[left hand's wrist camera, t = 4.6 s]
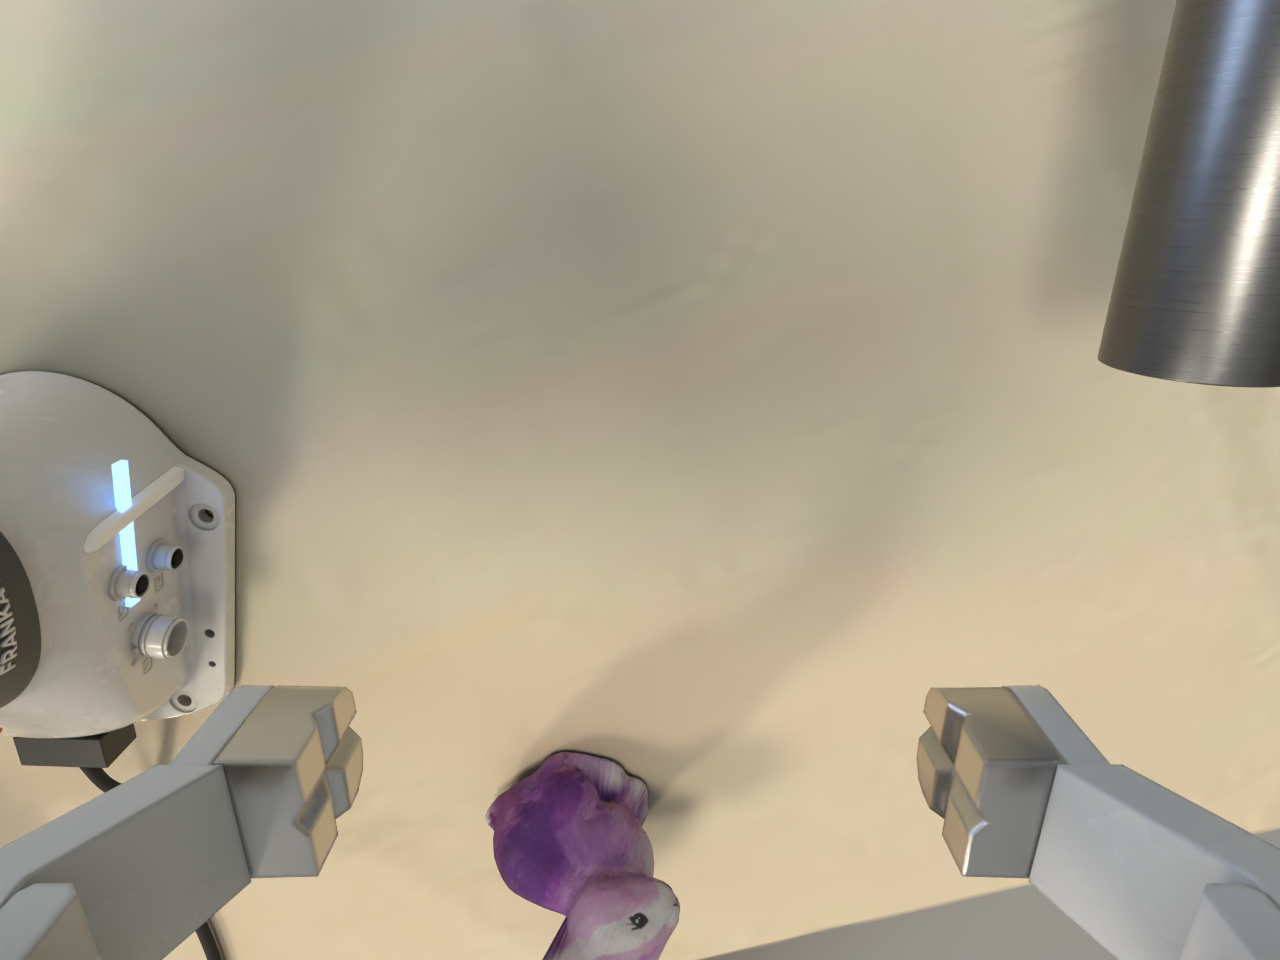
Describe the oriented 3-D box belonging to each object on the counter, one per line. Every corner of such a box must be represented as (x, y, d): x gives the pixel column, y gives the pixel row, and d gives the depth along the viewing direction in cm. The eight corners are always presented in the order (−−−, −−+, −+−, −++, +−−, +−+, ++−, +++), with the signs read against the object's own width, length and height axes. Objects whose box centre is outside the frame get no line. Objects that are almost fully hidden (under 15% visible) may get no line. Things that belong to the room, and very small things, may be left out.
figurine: (686, 792, 50) (704, 1021, 36) (580, 870, 53) (558, 1112, 39) (588, 709, 48) (567, 920, 34) (482, 794, 50) (421, 1023, 36)
